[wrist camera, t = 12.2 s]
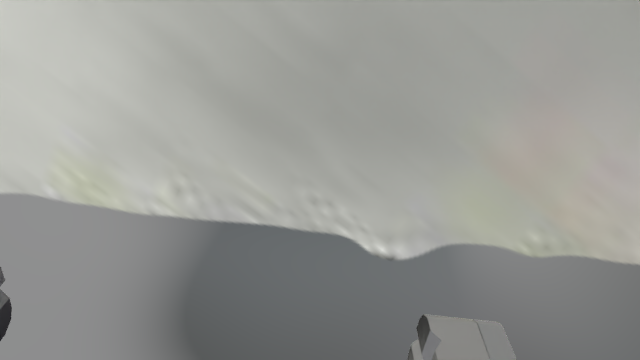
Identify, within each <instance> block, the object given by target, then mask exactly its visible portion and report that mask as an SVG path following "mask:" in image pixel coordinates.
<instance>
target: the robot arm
mask: <svg viewBox="0 0 640 360" xmlns="http://www.w3.org/2000/svg"><path fill="white" fill-rule="evenodd" d="M4 281H5V278H4V276H3V273H2V269H1V267H0V286H1V285H2V284H3V283H4ZM11 312H12V307H11V302H10V299H9V297H8V296H7V295H6V294H5V293H4V292H2V290H0V341H1V339H2V338H3V337H4V335H5V334H6V331H7V328H8V326H9V323H10V321H11ZM416 329H417V333H418V340H416V341H415V342H413V343H412V344H411V346H410V350H409V353H408V358H407V360H517V359H516V357H515V355H514V352H513V350H512V347H511V345H510V343H509V340H508V338H507V336H506V333H505V331H504V329H503V326H502V325H501V324H499V322H493V321H484V320H474V319H473V320H471V319H463V318H454V317H444V316H435V315H426V314H423V315H422V316H421V318H420V319H419V322H418V325H417V328H416Z"/></svg>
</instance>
